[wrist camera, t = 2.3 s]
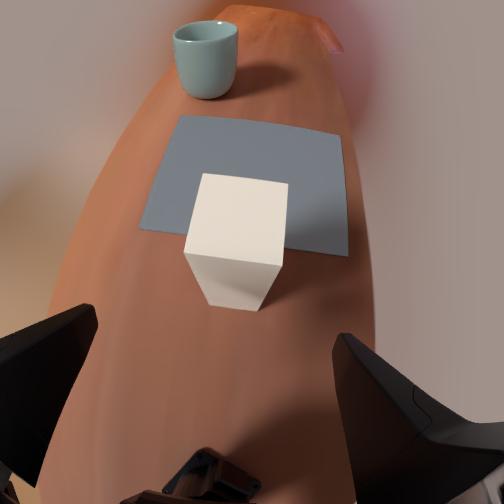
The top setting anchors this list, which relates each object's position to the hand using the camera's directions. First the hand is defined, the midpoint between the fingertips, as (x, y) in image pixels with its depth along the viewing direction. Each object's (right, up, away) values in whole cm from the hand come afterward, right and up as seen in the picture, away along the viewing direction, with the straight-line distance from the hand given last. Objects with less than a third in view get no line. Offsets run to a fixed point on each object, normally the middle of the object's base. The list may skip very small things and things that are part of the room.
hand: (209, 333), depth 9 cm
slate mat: (+2, +11, +19) cm, 22 cm away
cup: (-5, +25, +24) cm, 35 cm away
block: (0, 0, +14) cm, 14 cm away
